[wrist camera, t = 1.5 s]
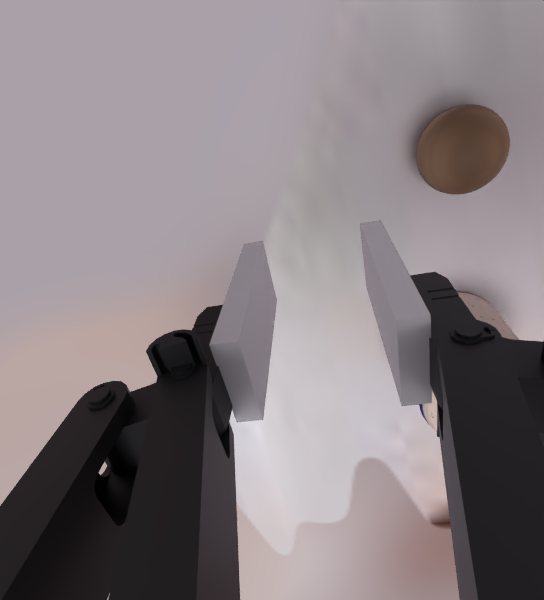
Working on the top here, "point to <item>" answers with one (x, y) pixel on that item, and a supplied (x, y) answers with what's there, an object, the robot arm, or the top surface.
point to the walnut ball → (463, 149)
